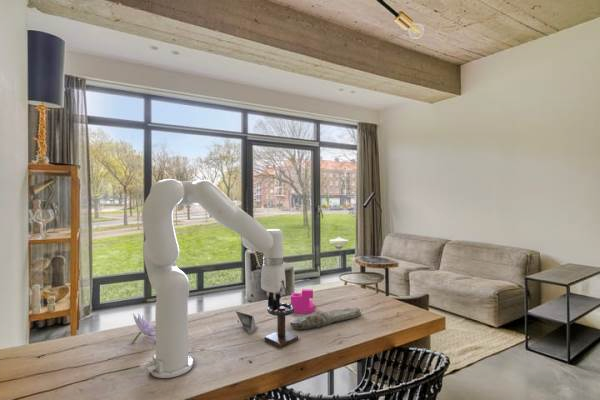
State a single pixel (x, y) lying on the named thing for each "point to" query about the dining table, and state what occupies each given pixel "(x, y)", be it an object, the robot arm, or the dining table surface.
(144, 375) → the dining table surface
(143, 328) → the water lily
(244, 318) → the paper boat
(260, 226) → the robot arm
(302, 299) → the bracket
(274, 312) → the hoop
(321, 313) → the long grey stone
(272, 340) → the peg stand
